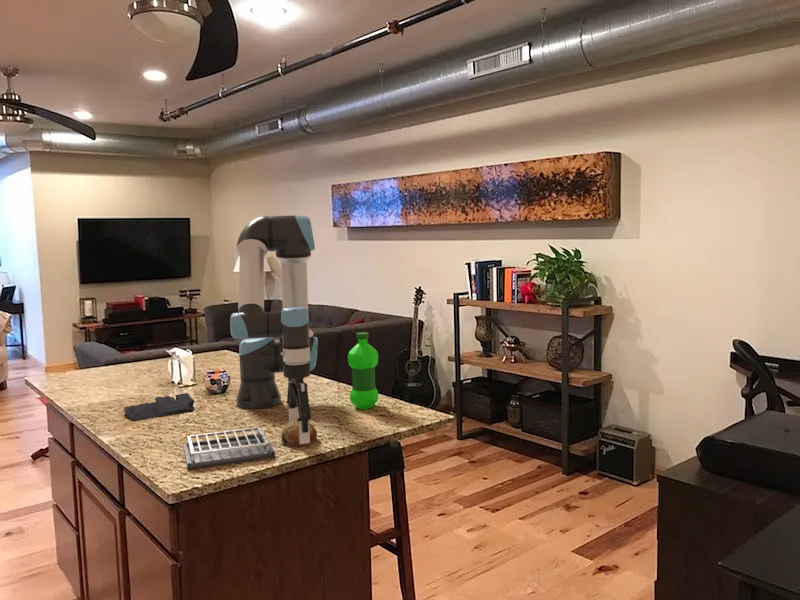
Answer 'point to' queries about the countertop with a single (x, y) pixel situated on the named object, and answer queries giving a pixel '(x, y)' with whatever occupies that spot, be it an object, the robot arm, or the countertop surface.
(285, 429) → the bread roll
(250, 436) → the cooling rack
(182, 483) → the countertop surface
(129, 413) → the dark slate chunk
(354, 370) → the plastic bottle
